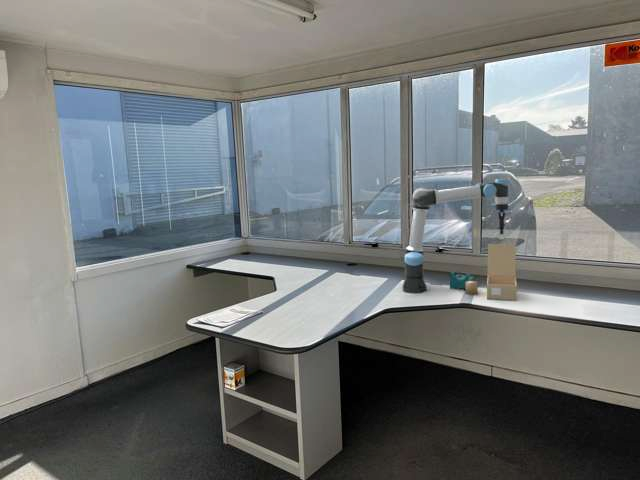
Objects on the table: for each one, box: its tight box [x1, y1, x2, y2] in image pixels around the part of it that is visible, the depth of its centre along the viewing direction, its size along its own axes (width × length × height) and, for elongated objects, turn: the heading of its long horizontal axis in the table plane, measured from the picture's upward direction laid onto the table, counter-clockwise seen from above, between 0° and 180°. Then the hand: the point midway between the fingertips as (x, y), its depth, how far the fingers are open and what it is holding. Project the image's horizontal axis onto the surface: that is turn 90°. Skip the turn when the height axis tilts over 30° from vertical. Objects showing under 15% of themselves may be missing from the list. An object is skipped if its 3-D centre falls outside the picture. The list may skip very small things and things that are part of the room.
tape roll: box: [465, 280, 479, 296], centre depth 275 cm, size 7×7×7 cm
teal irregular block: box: [449, 271, 474, 291], centre depth 292 cm, size 18×11×10 cm, turn 150°
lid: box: [487, 243, 517, 277], centre depth 278 cm, size 16×20×1 cm
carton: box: [486, 275, 518, 302], centre depth 268 cm, size 16×20×9 cm
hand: (501, 237), depth 288 cm, fingers open, 11 cm apart
